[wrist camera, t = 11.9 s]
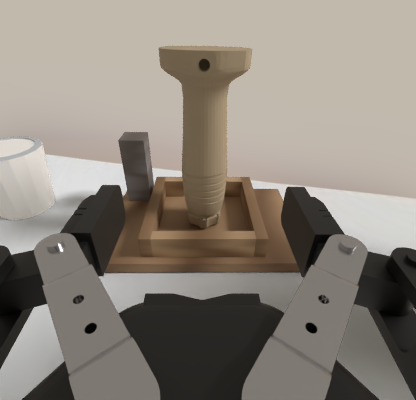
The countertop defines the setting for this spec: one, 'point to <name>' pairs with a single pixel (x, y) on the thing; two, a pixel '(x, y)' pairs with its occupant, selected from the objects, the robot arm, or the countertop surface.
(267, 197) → the seat board
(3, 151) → the white faceted cup
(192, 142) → the handle
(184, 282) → the countertop surface
